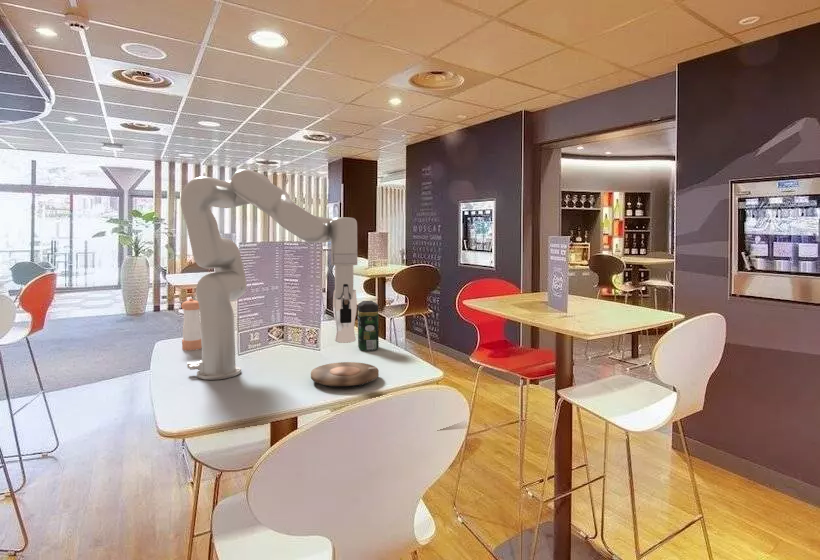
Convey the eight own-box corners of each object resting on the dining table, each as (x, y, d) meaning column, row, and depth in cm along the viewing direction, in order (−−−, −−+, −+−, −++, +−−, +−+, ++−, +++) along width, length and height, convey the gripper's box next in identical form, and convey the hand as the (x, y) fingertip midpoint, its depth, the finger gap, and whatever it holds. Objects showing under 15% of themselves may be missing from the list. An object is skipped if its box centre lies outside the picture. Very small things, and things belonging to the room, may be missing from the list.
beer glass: (352, 343, 130) (352, 292, 128) (329, 342, 131) (329, 291, 130) (360, 338, 137) (359, 289, 135) (338, 337, 138) (337, 288, 137)
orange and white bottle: (207, 347, 174) (205, 298, 172) (189, 351, 168) (187, 300, 166) (196, 345, 178) (194, 296, 176) (178, 348, 172) (176, 298, 170)
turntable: (310, 387, 123) (310, 381, 123) (311, 367, 143) (311, 361, 142) (382, 383, 127) (382, 377, 127) (374, 364, 147) (374, 359, 146)
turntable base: (321, 389, 127) (321, 384, 127) (321, 374, 140) (321, 370, 140) (371, 386, 129) (371, 381, 129) (366, 372, 143) (366, 367, 143)
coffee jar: (357, 346, 178) (356, 299, 177) (377, 345, 180) (377, 299, 178) (358, 352, 169) (358, 303, 167) (379, 351, 170) (379, 302, 169)
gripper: (330, 258, 139) (331, 316, 141) (332, 261, 122) (333, 326, 124) (355, 258, 141) (355, 315, 142) (360, 261, 124) (360, 325, 126)
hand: (345, 320), depth 133 cm, fingers closed on beer glass, 6 cm apart
